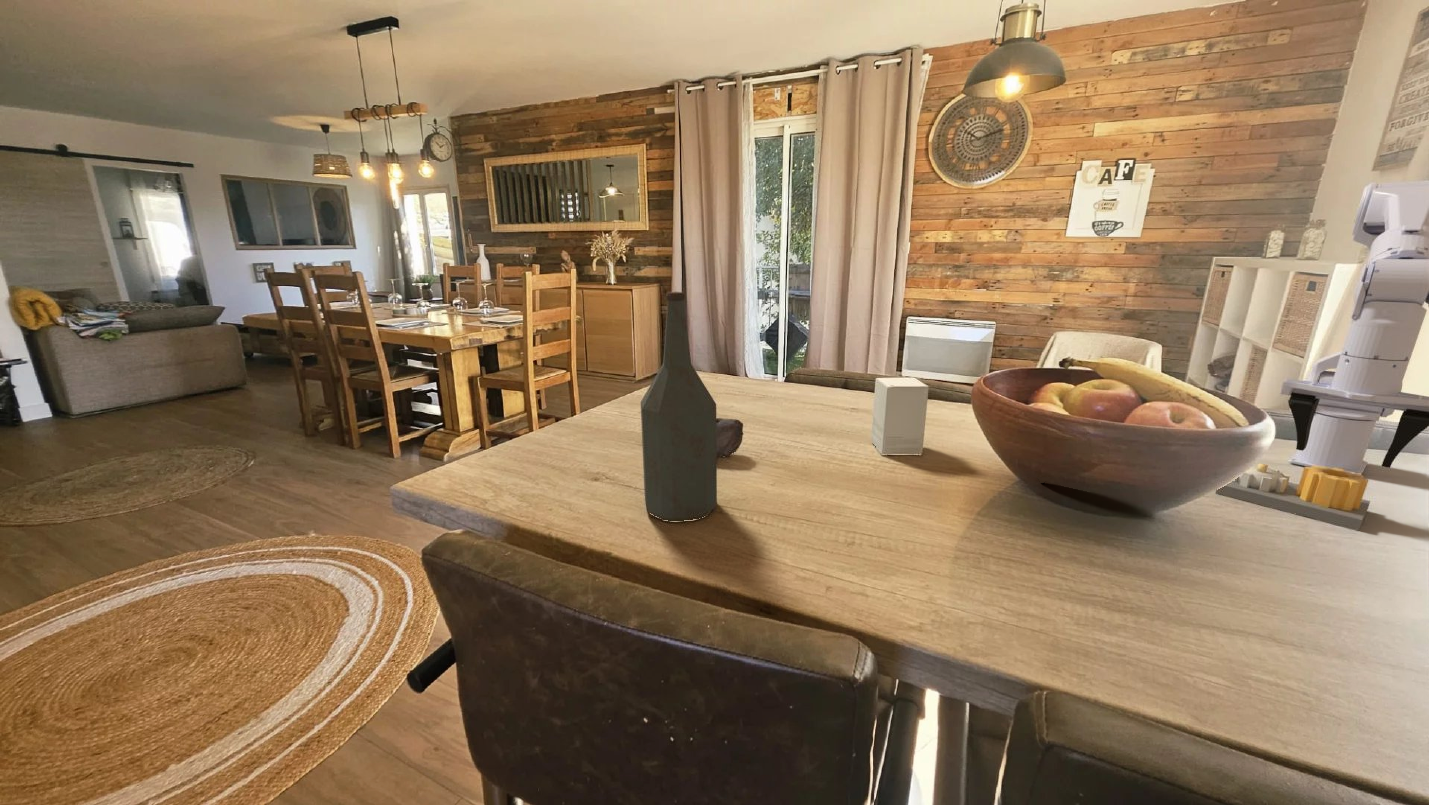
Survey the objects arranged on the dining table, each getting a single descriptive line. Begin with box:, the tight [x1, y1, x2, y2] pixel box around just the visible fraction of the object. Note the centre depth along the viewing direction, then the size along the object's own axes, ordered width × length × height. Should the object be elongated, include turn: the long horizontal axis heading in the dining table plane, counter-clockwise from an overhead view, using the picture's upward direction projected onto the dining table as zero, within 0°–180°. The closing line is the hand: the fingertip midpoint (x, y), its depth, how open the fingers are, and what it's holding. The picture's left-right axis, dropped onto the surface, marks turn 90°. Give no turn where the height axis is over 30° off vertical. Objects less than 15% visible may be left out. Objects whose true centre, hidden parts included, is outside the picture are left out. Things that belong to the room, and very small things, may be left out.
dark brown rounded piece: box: [716, 417, 745, 458], centre depth 96 cm, size 15×5×7 cm, turn 78°
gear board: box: [1215, 463, 1371, 531], centre depth 77 cm, size 9×14×5 cm, turn 36°
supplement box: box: [870, 376, 930, 455], centre depth 98 cm, size 7×7×13 cm
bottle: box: [640, 291, 718, 521], centre depth 73 cm, size 10×10×30 cm
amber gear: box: [1296, 465, 1369, 511], centre depth 74 cm, size 6×6×4 cm
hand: (1341, 456), depth 73 cm, fingers open, 7 cm apart
